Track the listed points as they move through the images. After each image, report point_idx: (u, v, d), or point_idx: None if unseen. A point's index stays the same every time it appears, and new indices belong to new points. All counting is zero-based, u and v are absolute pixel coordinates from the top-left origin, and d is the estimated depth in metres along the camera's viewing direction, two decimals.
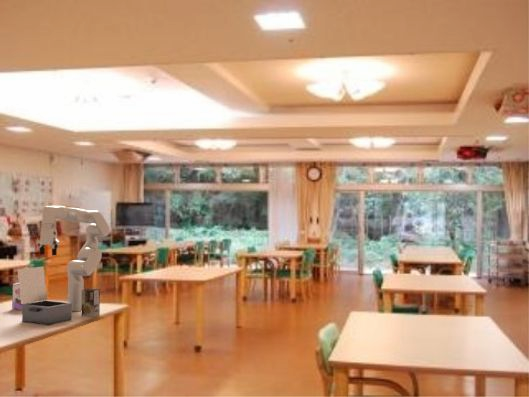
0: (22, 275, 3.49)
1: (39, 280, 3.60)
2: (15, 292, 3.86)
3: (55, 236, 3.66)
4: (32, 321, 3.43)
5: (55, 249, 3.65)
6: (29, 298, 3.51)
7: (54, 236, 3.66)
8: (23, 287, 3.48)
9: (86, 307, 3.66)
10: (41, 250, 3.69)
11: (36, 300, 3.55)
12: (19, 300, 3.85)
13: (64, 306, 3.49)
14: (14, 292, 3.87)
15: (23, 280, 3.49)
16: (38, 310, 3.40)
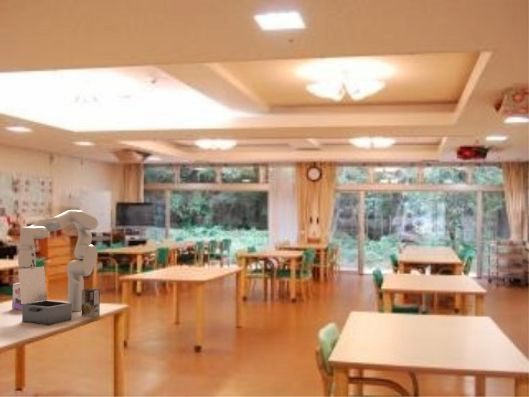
0: (23, 275, 3.49)
1: (39, 280, 3.59)
2: (15, 292, 3.86)
3: (33, 258, 3.56)
4: (32, 321, 3.43)
5: None
6: (29, 298, 3.51)
7: (32, 258, 3.55)
8: (23, 287, 3.48)
9: (86, 307, 3.66)
10: None
11: (36, 300, 3.55)
12: (19, 300, 3.85)
13: (64, 306, 3.49)
14: (14, 292, 3.87)
15: (24, 280, 3.49)
16: (38, 310, 3.40)
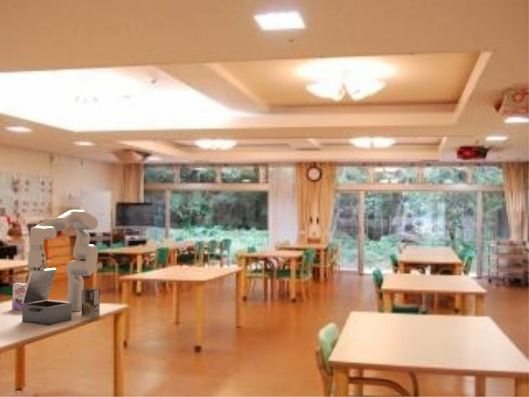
0: (33, 277, 3.46)
1: (47, 281, 3.57)
2: (15, 292, 3.86)
3: (43, 258, 3.53)
4: (32, 321, 3.43)
5: None
6: (30, 298, 3.50)
7: (42, 258, 3.52)
8: (29, 288, 3.46)
9: (86, 307, 3.66)
10: None
11: (36, 300, 3.55)
12: (19, 300, 3.85)
13: (64, 306, 3.49)
14: (14, 292, 3.87)
15: (32, 282, 3.47)
16: (38, 310, 3.40)
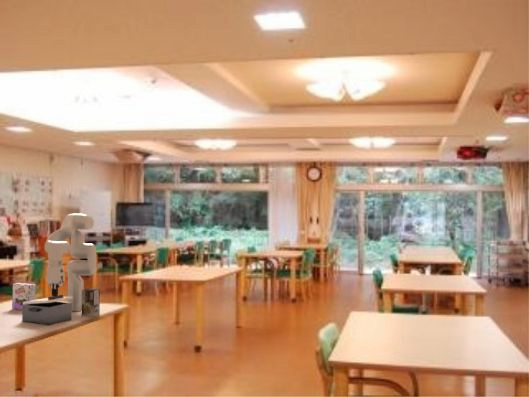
0: None
1: None
2: (15, 292, 3.86)
3: (62, 274, 3.46)
4: (32, 321, 3.43)
5: (56, 289, 3.47)
6: None
7: (61, 274, 3.46)
8: None
9: (86, 307, 3.66)
10: None
11: None
12: (19, 300, 3.85)
13: (64, 306, 3.49)
14: (14, 292, 3.87)
15: None
16: (38, 310, 3.40)
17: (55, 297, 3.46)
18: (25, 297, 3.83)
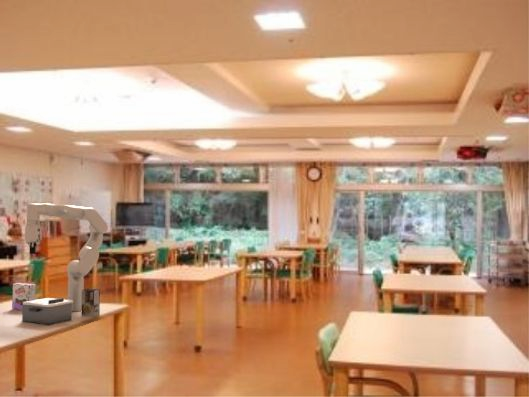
0: None
1: None
2: (15, 292, 3.86)
3: (39, 233, 3.71)
4: (32, 321, 3.43)
5: (34, 247, 3.71)
6: None
7: (38, 233, 3.70)
8: None
9: (86, 307, 3.66)
10: None
11: None
12: (19, 300, 3.85)
13: (64, 306, 3.49)
14: (14, 292, 3.87)
15: None
16: (38, 310, 3.40)
17: (55, 301, 3.46)
18: (25, 297, 3.83)
